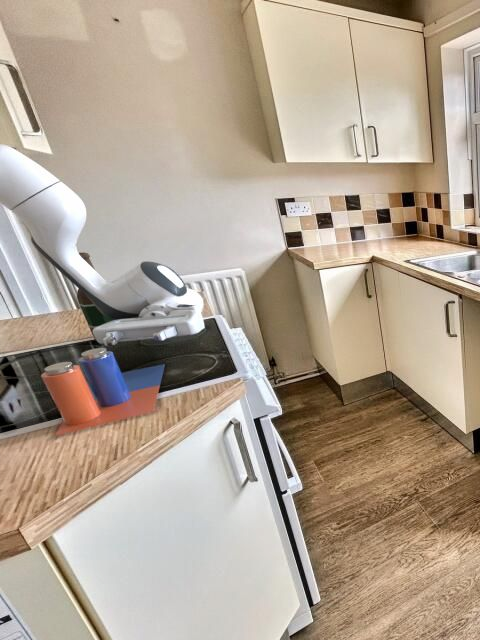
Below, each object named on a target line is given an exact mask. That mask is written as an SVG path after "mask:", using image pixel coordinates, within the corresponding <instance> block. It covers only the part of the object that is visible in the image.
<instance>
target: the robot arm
mask: <svg viewBox="0 0 480 640" xmlns="http://www.w3.org/2000/svg"><path fill="white" fill-rule="evenodd" d="M83 201H84V200H82V199H81V197H80V196H79V195H78V194H77V193H76V192H75V191H73V190H72V189H71V188H70V187H69V186H68V185H66V184H65V183H64V182H62V181H61V180H60V179H59V178H58V177H56V176H55V175H53V173H51V172H50V171H49V170H47V168H44V166H42V165H40V164H39V163H37V162H36V161H35V160H33V159H31V158H30V157H28V156H27V155H25V154H24V153H22V152H20V151H19V150H17V149H15V148H13V147H11V146H10V145H7V144H2V143H0V204H1V205H2V206H3V207H5V208H6V209H8V210H9V211H11V212H12V214H14V215H16V217H18V218H19V219H20V220H21V221H22V223H24V225H25V226H26V228H27V229H28V231H29V232H30V233H31V237H30V241H31V244H32V245H33V247H34V248H35V249H36V250H37V251H38V252H39V253H40V254H41V255H42V256H43V257H44V258H45V259H46V260H47V261H48V262H49V263H50V264H51V265H52V266H53V267H54V268H55V269H57V270H58V271H59V272H60V273H61V274H62V275H63V276H64V277H65V278H66V279H68V280H69V281H70V282H71V283H72V284H73V285H74V286H75V287H76V288H77V289H80V290H81V291H82V292H83V293H84V294H85V295H86V296H87V297H88V298H89V299H90V300H91V301H92V303H93V304H94V305H95V306H96V308H97V309H98V310H99V311H100V312H101V313H102V314H103V315H105V316H106V317H108V318H110V319H114V320H113V321H110V322H107V323H105V324H103V325H100V326H98V327H96V328H94V329H93V334H94V337H95V338H94V337H93V338H94V340H95V339H96V340H97V341H96V340H95V341H96V342H97V343H98V344H100V345H104V346H105V347H110V346H115V345H118V343H121V342H123V343H124V342H133V341H145V340H154V342H162V341H163V342H164V341H165V340H166V339H170V338H175V337H184V336H193V335H196V334H198V333H200V332H202V331H203V330H204V329H205V327H206V326H205V322H204V321H205V320H204V317H203V314H202V313H203V310H204V305H205V304H204V303H205V302H204V299H203V297H202V296H201V294H200V293H199V292H197V290H194V289H192V288H189V287H187V286H186V283H185V282H184V280H183V279H182V277H181V276H180V275H179V274H178V273H177V272H176V271H175V270H174V269H172V268H171V267H169V266H167V265H165V264H162V263H159V262H155V261H148V260H147V261H142V262H141V263H138V264H137V265H135V266H134V267H132V268H131V269H129V270H128V271H126V272H125V273H124V274H122V275H121V276H119V277H117V278H116V279H114V280H113V281H108V280H106V279H105V278H104V277H103V276H101V275H100V273H98V271H97V270H96V269H95V268H94V269H95V270H94V269H93V268H92V267H91V266H90V265H89V264H88V263H87V262H86V261H85V260H84V259H83V258H82V257H81V256H80V255H79V253H80V252H79V250H78V248H77V243H78V240H79V237H80V235H81V232H82V231H83V229H84V227H85V225H86V221H87V208H86V205H85V202H83Z"/></svg>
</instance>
